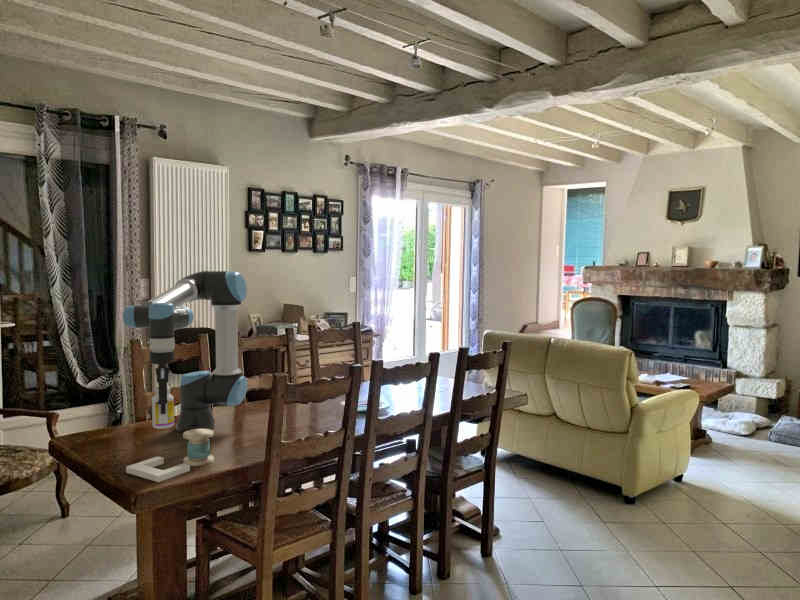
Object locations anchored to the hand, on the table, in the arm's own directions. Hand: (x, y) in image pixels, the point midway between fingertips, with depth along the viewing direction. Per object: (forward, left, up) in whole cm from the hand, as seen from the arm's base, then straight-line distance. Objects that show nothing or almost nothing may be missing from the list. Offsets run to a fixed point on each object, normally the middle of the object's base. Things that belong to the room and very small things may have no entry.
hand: (163, 420), depth 194 cm
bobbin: (-12, +2, -17) cm, 21 cm away
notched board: (+2, -1, -17) cm, 17 cm away
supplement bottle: (0, 0, -2) cm, 2 cm away
